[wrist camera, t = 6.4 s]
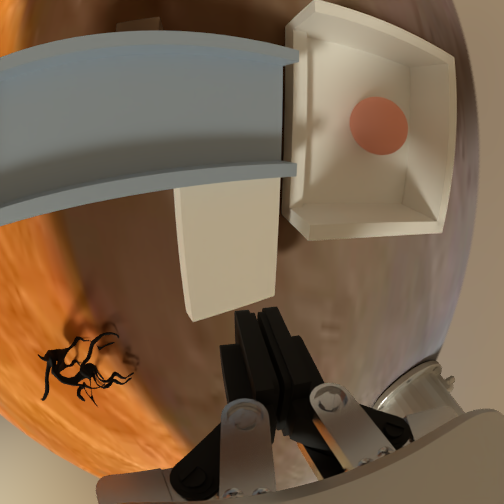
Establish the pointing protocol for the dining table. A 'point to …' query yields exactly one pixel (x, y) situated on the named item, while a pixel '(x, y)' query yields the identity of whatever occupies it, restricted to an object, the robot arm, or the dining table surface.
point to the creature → (85, 369)
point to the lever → (156, 144)
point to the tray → (340, 137)
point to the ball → (378, 125)
